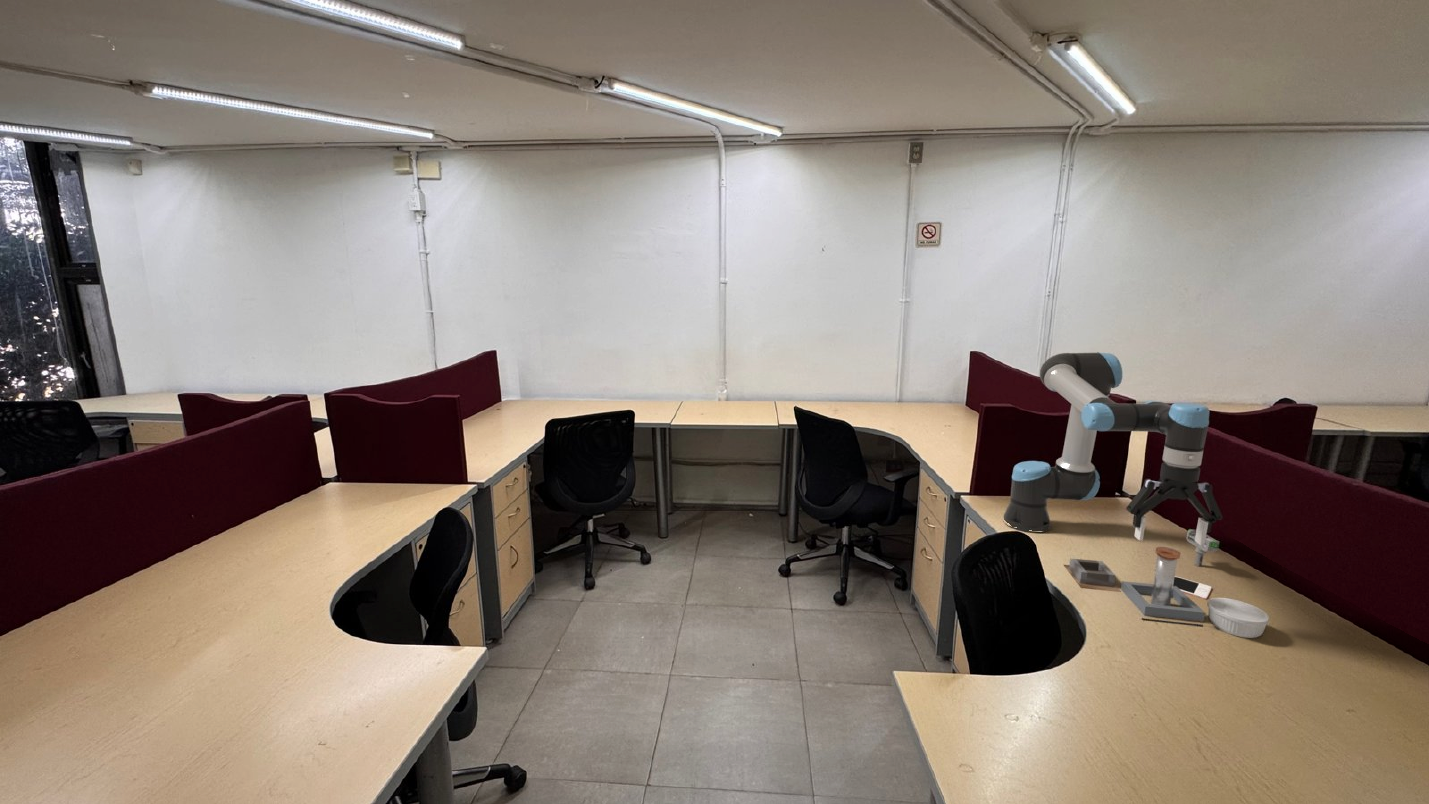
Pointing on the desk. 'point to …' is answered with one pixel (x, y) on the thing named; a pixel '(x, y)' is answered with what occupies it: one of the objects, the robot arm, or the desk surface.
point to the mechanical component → (1209, 546)
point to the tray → (1185, 612)
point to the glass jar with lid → (1164, 575)
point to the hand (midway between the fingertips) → (1168, 541)
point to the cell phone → (1192, 587)
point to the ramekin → (1237, 617)
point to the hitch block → (1092, 574)
